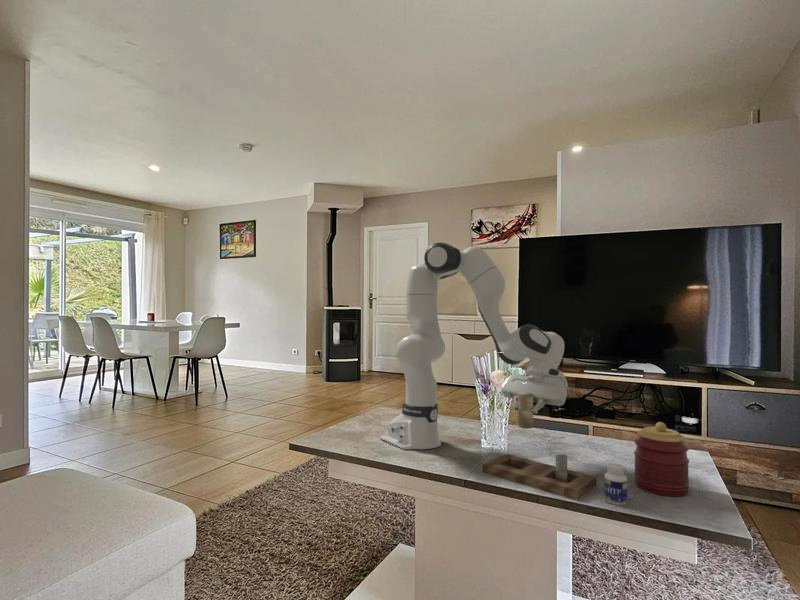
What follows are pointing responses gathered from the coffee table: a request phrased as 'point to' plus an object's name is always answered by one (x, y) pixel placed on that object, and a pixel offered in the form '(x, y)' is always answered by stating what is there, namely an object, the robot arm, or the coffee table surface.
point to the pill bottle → (615, 484)
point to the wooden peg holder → (542, 475)
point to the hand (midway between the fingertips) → (524, 410)
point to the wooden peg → (525, 410)
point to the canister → (661, 461)
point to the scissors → (553, 440)
